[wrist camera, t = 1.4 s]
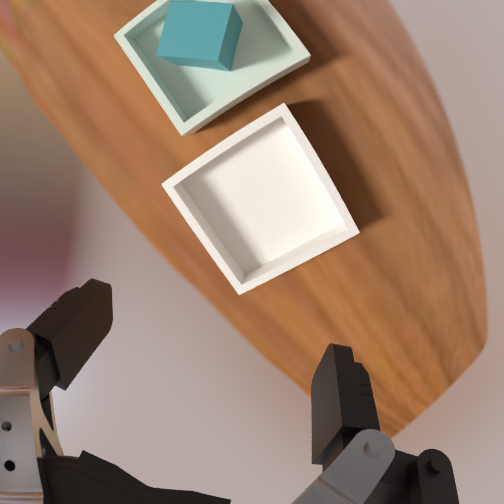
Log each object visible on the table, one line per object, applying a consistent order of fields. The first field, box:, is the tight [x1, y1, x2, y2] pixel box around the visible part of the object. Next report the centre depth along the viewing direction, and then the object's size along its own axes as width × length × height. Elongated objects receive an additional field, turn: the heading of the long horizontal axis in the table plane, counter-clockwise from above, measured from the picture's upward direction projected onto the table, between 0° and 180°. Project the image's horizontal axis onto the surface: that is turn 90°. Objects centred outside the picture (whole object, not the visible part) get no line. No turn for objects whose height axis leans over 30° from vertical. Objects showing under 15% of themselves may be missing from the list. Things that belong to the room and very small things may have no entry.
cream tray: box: [161, 103, 360, 295], centre depth 28 cm, size 13×13×3 cm
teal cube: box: [156, 1, 243, 72], centre depth 21 cm, size 5×5×5 cm
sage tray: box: [114, 0, 311, 136], centre depth 22 cm, size 13×13×3 cm
